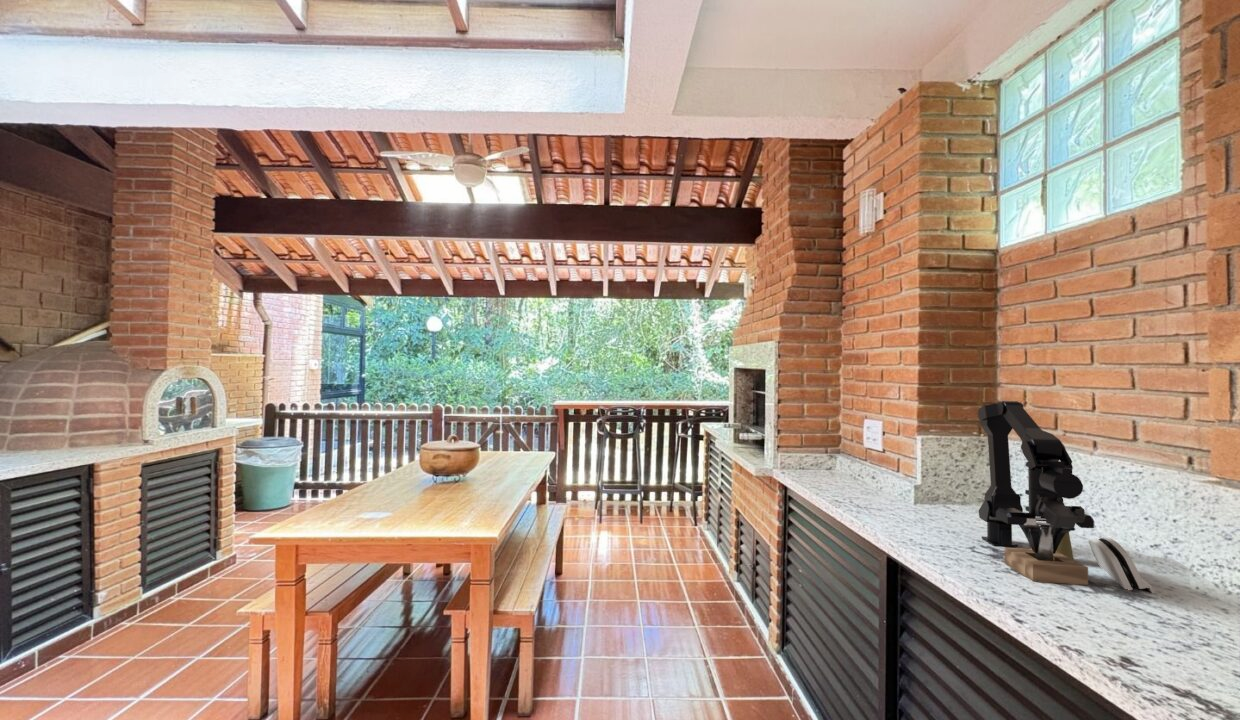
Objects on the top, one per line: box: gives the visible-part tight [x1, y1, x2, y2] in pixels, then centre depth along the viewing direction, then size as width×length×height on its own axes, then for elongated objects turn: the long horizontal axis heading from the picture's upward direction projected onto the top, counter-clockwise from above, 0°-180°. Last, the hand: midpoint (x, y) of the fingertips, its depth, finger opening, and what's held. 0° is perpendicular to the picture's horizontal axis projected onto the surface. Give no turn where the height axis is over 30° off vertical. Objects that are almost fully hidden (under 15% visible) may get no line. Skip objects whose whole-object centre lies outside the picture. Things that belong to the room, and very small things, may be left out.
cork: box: [1045, 521, 1075, 561], centre depth 136 cm, size 6×6×11 cm
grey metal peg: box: [1035, 521, 1053, 561], centre depth 127 cm, size 4×4×10 cm
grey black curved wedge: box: [1088, 537, 1156, 594], centre depth 124 cm, size 17×5×10 cm, turn 154°
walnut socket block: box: [1003, 547, 1089, 586], centre depth 127 cm, size 12×12×4 cm
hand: (1043, 552), depth 127 cm, fingers closed on grey metal peg, 3 cm apart
